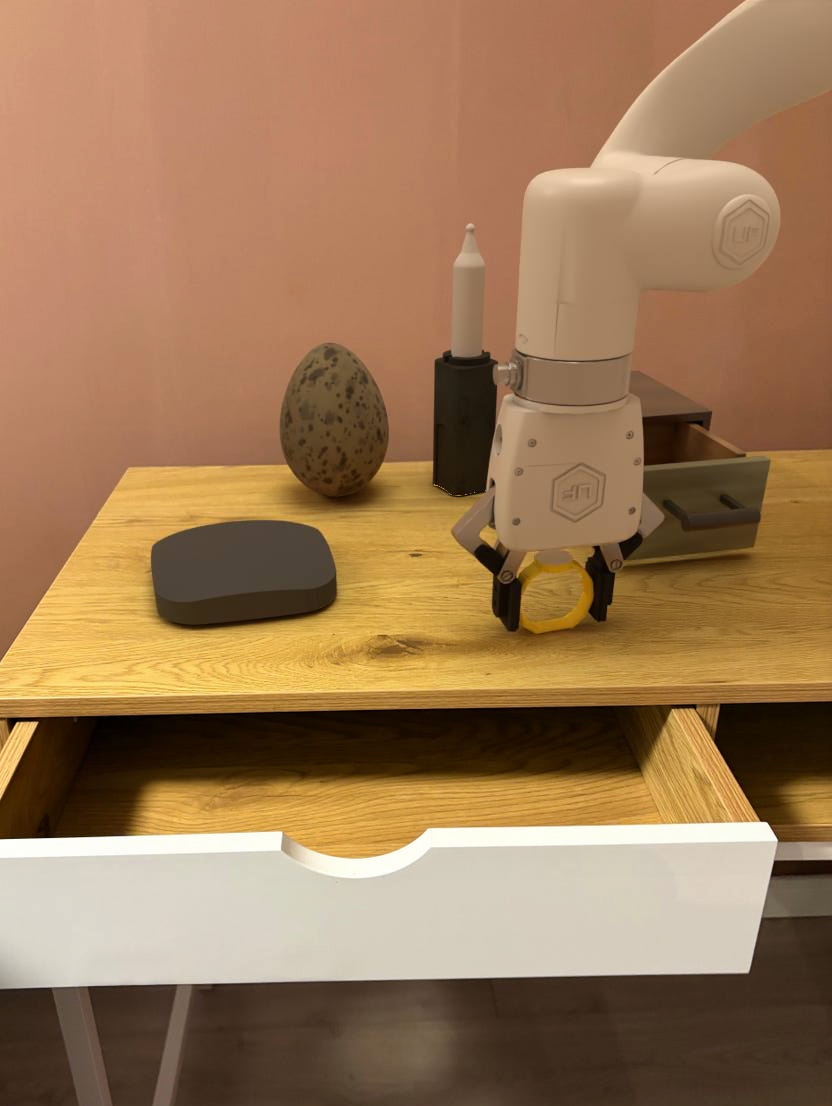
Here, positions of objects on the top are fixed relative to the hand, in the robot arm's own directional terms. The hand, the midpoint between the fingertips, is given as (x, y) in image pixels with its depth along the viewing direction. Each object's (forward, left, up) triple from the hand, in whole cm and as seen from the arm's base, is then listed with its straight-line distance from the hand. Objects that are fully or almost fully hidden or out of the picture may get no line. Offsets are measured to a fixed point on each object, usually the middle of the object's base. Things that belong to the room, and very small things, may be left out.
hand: (550, 616), depth 73 cm
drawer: (-15, -13, 0) cm, 20 cm away
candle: (-2, -31, -1) cm, 31 cm away
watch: (0, 0, -1) cm, 1 cm away
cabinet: (-15, -27, -1) cm, 31 cm away
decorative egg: (+11, -32, -1) cm, 34 cm away
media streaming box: (+22, -13, -1) cm, 26 cm away
